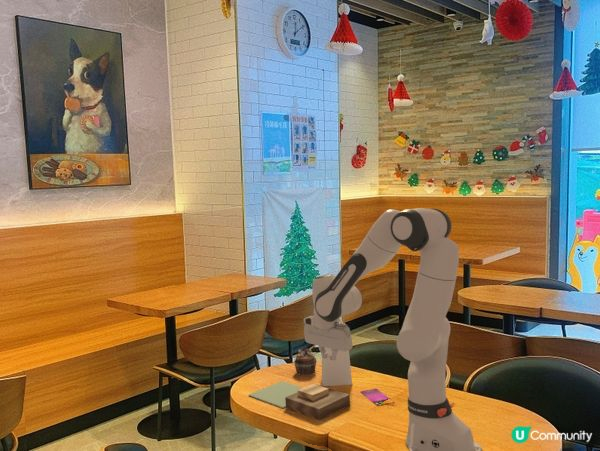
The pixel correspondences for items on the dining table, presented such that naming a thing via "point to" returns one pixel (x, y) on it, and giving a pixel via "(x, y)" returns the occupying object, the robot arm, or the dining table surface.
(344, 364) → the milk
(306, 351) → the cupcake
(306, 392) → the coaster
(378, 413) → the dining table surface
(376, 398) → the smartphone
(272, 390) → the mat
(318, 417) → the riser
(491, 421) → the dining table surface
